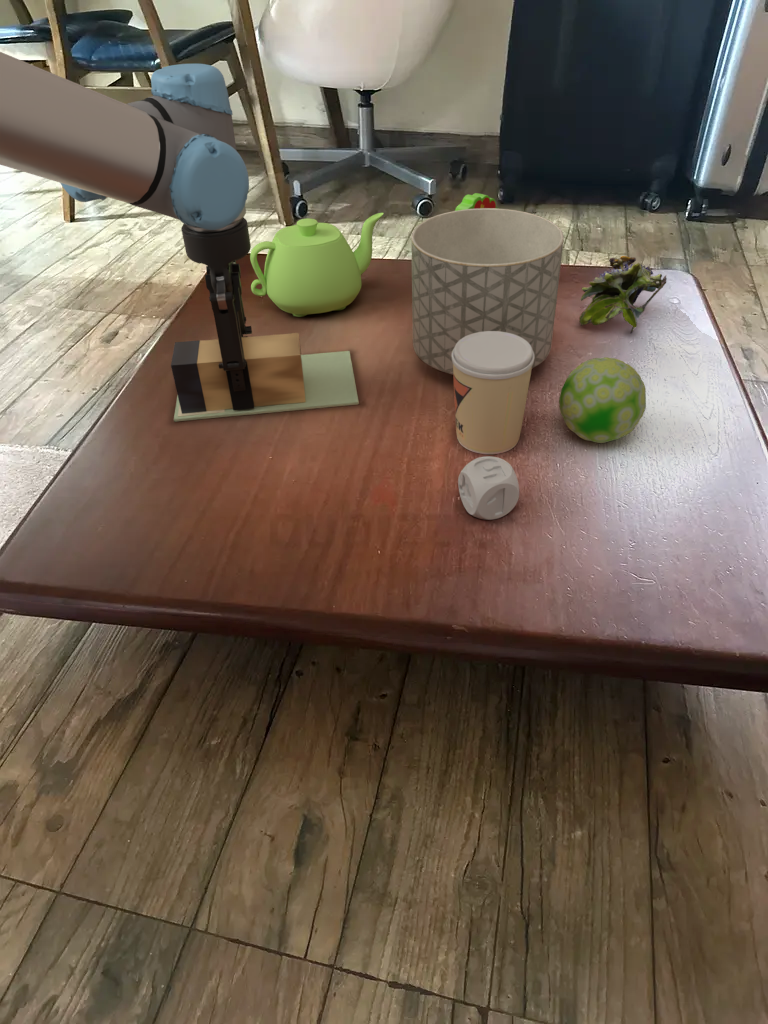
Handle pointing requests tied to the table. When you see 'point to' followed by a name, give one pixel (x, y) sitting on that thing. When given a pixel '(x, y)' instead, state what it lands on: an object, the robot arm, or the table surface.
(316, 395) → the envelope
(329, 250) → the teapot
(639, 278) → the passion flower
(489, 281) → the planter
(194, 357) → the beech block
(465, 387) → the coffee cup
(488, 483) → the die
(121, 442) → the table surface
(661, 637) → the table surface
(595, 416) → the decorative ball
